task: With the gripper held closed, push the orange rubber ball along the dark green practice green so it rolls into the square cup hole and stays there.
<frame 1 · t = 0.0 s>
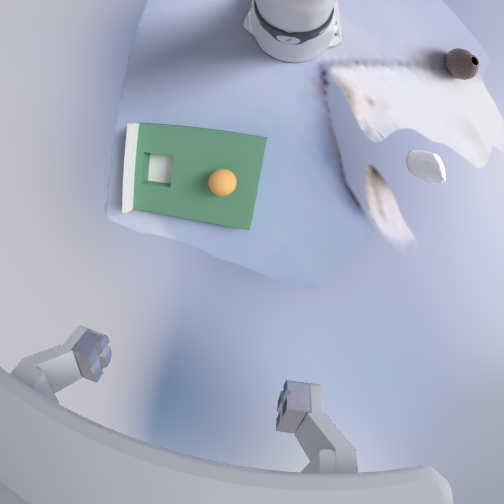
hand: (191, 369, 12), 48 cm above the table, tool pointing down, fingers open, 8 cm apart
green: (195, 171, 56), on the table
ball: (222, 182, 50), point 6 cm above the table, touching green
roll: (416, 162, 50), on the table
vase: (452, 66, 39), on the table
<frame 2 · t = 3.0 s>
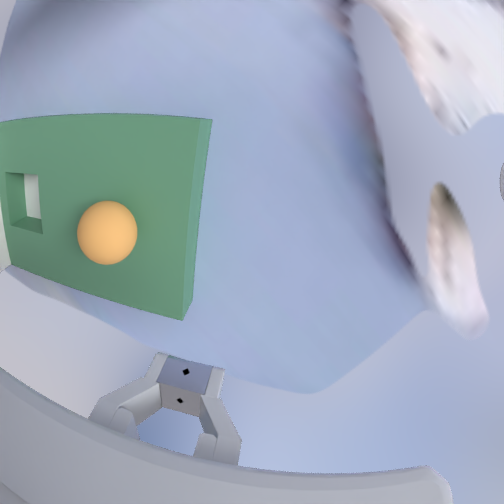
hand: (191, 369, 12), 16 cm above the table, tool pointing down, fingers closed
green: (84, 199, 26), on the table
ball: (107, 232, 20), point 6 cm above the table, touching green
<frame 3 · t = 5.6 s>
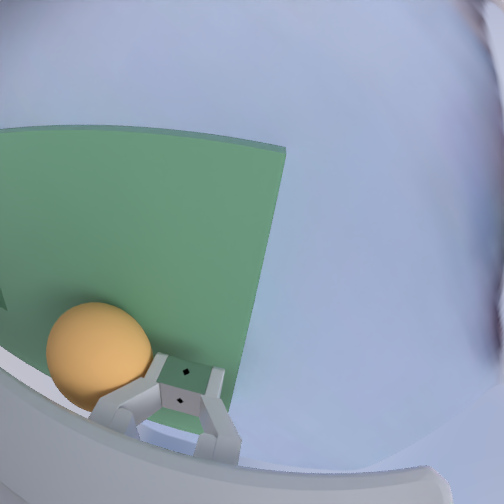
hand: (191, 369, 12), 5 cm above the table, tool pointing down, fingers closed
green: (60, 262, 16), on the table
ball: (99, 358, 11), point 6 cm above the table, touching green, gripper
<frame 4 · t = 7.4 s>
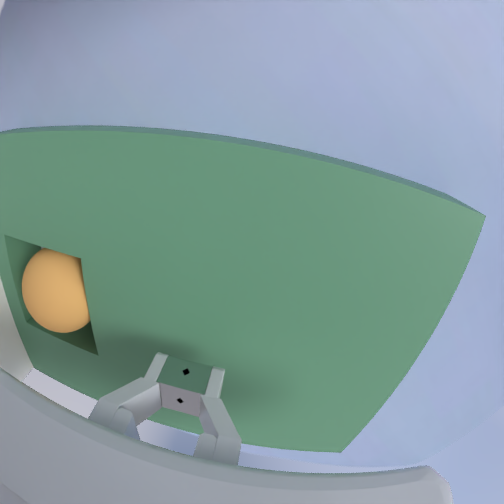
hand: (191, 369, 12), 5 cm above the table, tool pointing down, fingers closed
green: (175, 295, 16), on the table
ball: (61, 288, 13), point 3 cm above the table, tilted 150°, touching green
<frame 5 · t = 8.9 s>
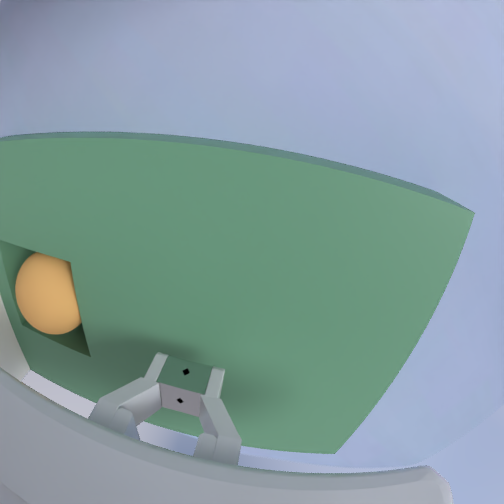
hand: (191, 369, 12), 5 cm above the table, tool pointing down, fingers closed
green: (164, 297, 16), on the table
ball: (53, 291, 14), point 3 cm above the table, tilted 149°, touching green
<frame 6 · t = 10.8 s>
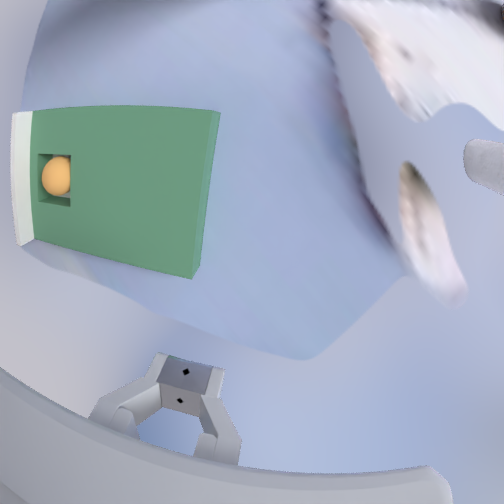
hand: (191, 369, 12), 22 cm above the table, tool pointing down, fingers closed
green: (109, 178, 32), on the table
ball: (59, 175, 29), point 3 cm above the table, tilted 147°, touching green
roll: (477, 161, 26), on the table
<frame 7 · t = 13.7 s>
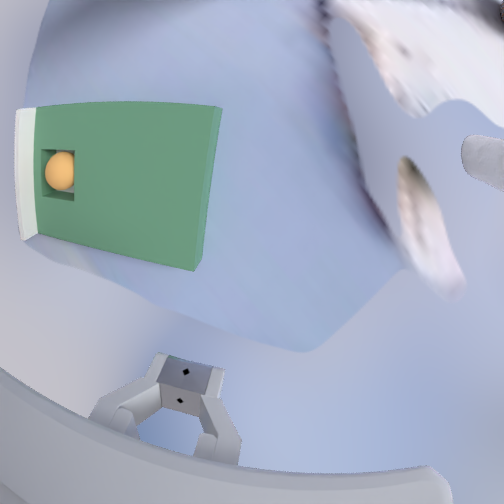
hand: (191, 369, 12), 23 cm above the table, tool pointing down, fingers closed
green: (112, 173, 32), on the table
ball: (62, 170, 30), point 3 cm above the table, tilted 145°, touching green
roll: (474, 156, 26), on the table
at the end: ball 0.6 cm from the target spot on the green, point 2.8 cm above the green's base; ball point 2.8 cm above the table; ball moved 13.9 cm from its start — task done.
